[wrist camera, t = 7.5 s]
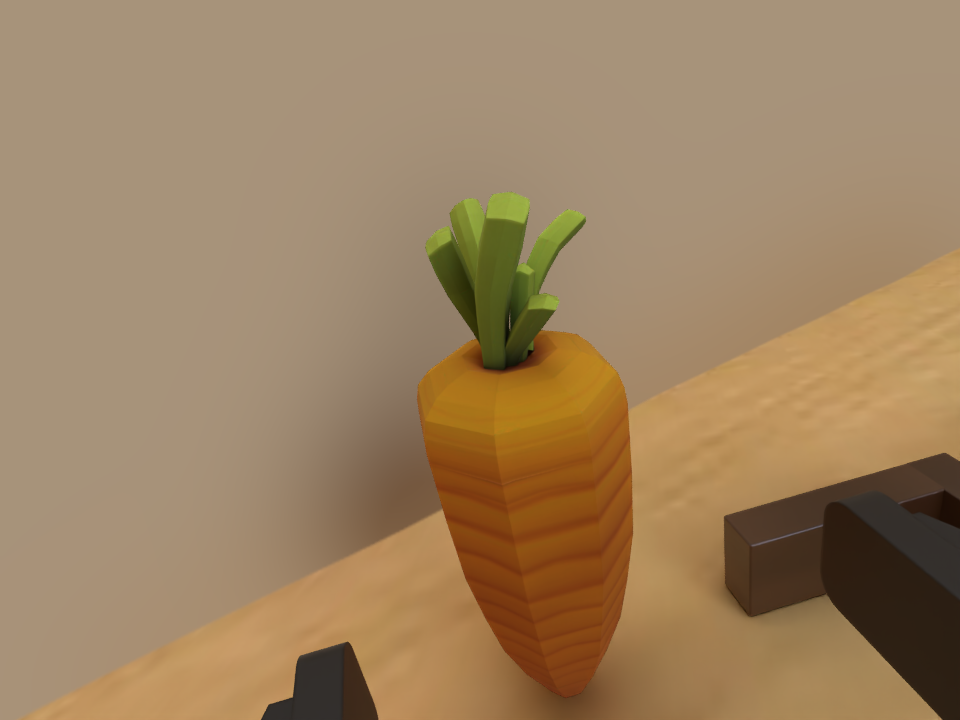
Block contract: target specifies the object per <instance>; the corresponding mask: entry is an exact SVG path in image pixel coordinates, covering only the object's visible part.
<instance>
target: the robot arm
mask: <svg viewBox="0 0 960 720" xmlns="http://www.w3.org/2000/svg"><path fill="white" fill-rule="evenodd" d="M820 575H821V580H822V583H823V586H824V588H825V591H826V593H827V595H828V596H829V598H830V600H831V601H832V603H833V604H834V605H835V607H836V608H837V609H838V610H839V611H840V612H841V613H842V614H843V615H844V617H845V618H846V619H847V620H848V621H849V622H850V623H851V624H852V625H853V626H854V627H855V628H856V629H857V630H858V631H859V632H860V633H861V634H862V635H863V636H864V638H865V639H866V640H867V641H868V642H869V643H870V644H871V645H872V646H873V647H874V648H875V649H876V650H877V651H878V652H879V653H880V654H881V655H882V656H883V658H884V659H885V660H886V661H887V662H888V663H889V664H890V665H891V666H892V667H893V668H894V669H895V670H896V671H897V672H898V673H899V674H900V675H901V676H902V678H903V679H904V680H905V681H906V682H907V683H908V684H909V685H910V686H911V687H912V688H913V689H914V690H915V691H916V692H917V693H918V694H919V695H920V696H921V697H922V699H923V700H924V701H925V702H926V703H927V704H928V705H929V706H930V707H931V708H932V709H933V710H934V711H935V712H936V713H937V714H938V715H939V716H940V717H941V719H942V720H960V529H959V528H956V527H954V526H952V525H949V524H947V523H945V522H942V521H940V520H937V519H935V518H933V517H930V516H928V515H926V514H923V513H921V512H918V513H915V514H912V513H910V512H909V511H908V510H906V509H905V508H903V507H902V506H901V505H899V504H898V503H897V502H895V501H894V500H893V499H891V498H890V497H889V496H887V495H886V494H884V493H882V492H879V491H875V490H871V491H868V492H864V493H861V494H857V495H854V496H850V497H847V498H844V499H840V500H837V501H833V502H830V503H829V504H827V506H826V507H825V510H824V520H823V534H822V547H821V561H820ZM261 720H378V715H377V711H376V708H375V704H374V702H373V699H372V696H371V694H370V691H369V689H368V686H367V684H366V681H365V679H364V676H363V674H362V671H361V668H360V666H359V663H358V661H357V658H356V656H355V653H354V651H353V648H352V646H351V645H350V643H349V642H345V643H342V644H338V645H335V646H332V647H328V648H325V649H321V650H318V651H314V652H311V653H308V654H304V655H301V656H300V657H299V658H298V661H297V665H296V673H295V683H294V692H293V698H289V699H286V700H283V701H279V702H276V703H273V704H269V705H268V707H267V709H266V711H265V713H264V715H263V717H262V719H261Z"/></svg>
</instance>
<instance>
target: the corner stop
mask: <svg viewBox="0 0 960 720" xmlns="http://www.w3.org/2000/svg"><path fill="white" fill-rule="evenodd" d="M871 490H875V491H879V492H882V493H884V494H886V495H887V496H889V497H890V498H891V499H893V500H894V501H895V502H897V503H898V504H899V505H901V506H902V507H903V508H905V509H906V510H908V511H909V512H910V513H912V514H915V513H918V512H921V513H923V514H926V515H928V516H930V517H933V518H935V519H937V520H940V521H942V522H945V523H947V524H949V525H952V526H954V527H956V528H959V529H960V461H958V460H957V459H955V458H953V457H952V456H950V455H948V454H947V453H942V454H938V455H935V456H931V457H928V458H924V459H921V460H917V461H914V462H910V463H907V464H904V465H900V466H897V467H893V468H890V469H886V470H883V471H879V472H876V473H873V474H869V475H866V476H862V477H859V478H855V479H852V480H848V481H845V482H841V483H838V484H834V485H831V486H827V487H824V488H820V489H817V490H813V491H810V492H806V493H803V494H799V495H796V496H792V497H789V498H785V499H782V500H778V501H775V502H771V503H768V504H764V505H761V506H757V507H754V508H750V509H747V510H743V511H740V512H736V513H733V514H729V515H726V516H724V550H725V584H726V586H727V587H728V588H729V590H730V591H731V592H732V594H733V595H734V596H735V597H736V599H737V600H738V601H739V603H740V604H741V605H742V607H743V608H744V609H745V610H746V612H747V613H748V614H749V616H754V615H757V614H760V613H764V612H767V611H770V610H773V609H777V608H780V607H783V606H787V605H790V604H793V603H796V602H800V601H803V600H806V599H809V598H813V597H816V596H819V595H823V594H826V591H825V588H824V586H823V583H822V580H821V575H820V561H821V547H822V534H823V520H824V510H825V507H826V506H827V504H829V503H830V502H833V501H837V500H840V499H844V498H847V497H850V496H854V495H857V494H861V493H864V492H868V491H871Z"/></svg>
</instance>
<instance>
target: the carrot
mask: <svg viewBox="0 0 960 720" xmlns="http://www.w3.org/2000/svg"><path fill="white" fill-rule="evenodd" d="M529 208H530V205H529V199H527V198H525V197H522V196H520V195H518V194H516V193H513V192H507V193H499V194H493V195H492V197H491V198H490V200H489V202H488V206H487V210H486V215H484V213H483V210H482V208H481V205H480V204H479V201H478V200H477V199H472V198H470V199H466V200H463V201H461V202H460V203H458V204H457V205H455V206H454V208H453V209H452V211H451V212H450V218H451V222H452V227H453V230H454V233H455V236H456V239H457V242H458V244H457V242H456V240H455V238H454V236H453V234H452V232H451V230H450V228H449V226H447V227H445V228H442V229H440V230H438V231H436V232H435V233H434V234H433V235H432V237H430V239H429V240H428V241H427V242H426V247H425V248H426V251H427V254H428V257H429V259H430V262H431V264H432V266H433V269H434V271H435V273H436V275H437V277H438V279H439V281H440V282H441V284H442V286H443V288H444V290H445V292H446V293H447V295H448V297H449V298H450V300H451V301H452V303H453V304H454V305H455V307H456V309H457V310H458V311H459V313H460V314H461V316H462V317H463V319H464V320H465V321H466V323H467V324H468V326H469V327H470V329H471V330H472V332H473V333H474V335H475V337H476V338H477V339H474V340H471V341H469V342H468V343H466V344H464V345H463V346H462V347H460V348H459V349H458V350H456V351H455V352H453V353H452V354H451V355H449V356H448V357H447V358H445V359H444V360H443V361H441V362H440V363H439V364H437V365H436V366H434V367H433V368H432V369H430V370H429V371H428V372H427V374H426V375H425V376H424V378H423V379H422V381H421V382H420V383H419V384H418V394H417V402H418V409H419V414H420V420H421V426H422V430H423V437H424V442H425V447H426V452H427V457H428V460H429V464H430V467H431V470H432V474H433V477H434V481H435V484H436V487H437V491H438V494H439V498H440V501H441V504H442V508H443V511H444V515H445V518H446V521H447V524H448V527H449V530H450V533H451V536H452V539H453V542H454V545H455V548H456V551H457V554H458V557H459V560H460V563H461V566H462V569H463V572H464V575H465V578H466V580H467V582H468V584H469V586H470V588H471V590H472V592H473V594H474V596H475V598H476V600H477V602H478V604H479V606H480V608H481V610H482V612H483V614H484V616H485V618H486V620H487V622H488V623H489V625H490V627H491V629H492V630H493V632H494V634H495V635H496V637H497V639H498V641H499V642H500V644H501V646H502V648H503V649H504V651H505V652H506V653H507V654H508V655H509V656H510V657H511V658H512V659H513V660H514V661H515V662H516V664H517V665H518V666H519V667H520V668H521V669H522V670H523V671H524V672H525V673H526V674H527V675H529V676H530V677H532V678H533V679H534V680H536V681H537V682H539V683H540V684H542V685H543V686H545V687H546V688H547V689H549V690H550V691H552V692H554V693H556V694H558V695H560V696H562V697H565V698H567V697H570V696H573V695H577V694H580V693H581V692H582V691H583V689H584V688H585V687H586V685H587V684H588V683H589V681H590V680H591V679H592V677H593V675H594V673H595V671H596V669H597V667H598V665H599V664H600V662H601V660H602V658H603V656H604V654H605V652H606V650H607V648H608V645H609V643H610V641H611V638H612V636H613V633H614V631H615V629H616V626H617V624H618V621H619V619H620V616H621V610H622V605H623V599H624V594H625V588H626V583H627V577H628V569H629V561H630V553H631V545H632V537H633V509H632V468H631V452H630V435H629V418H628V403H627V398H626V393H625V389H624V386H623V384H622V381H621V379H620V377H619V375H618V373H617V371H616V370H615V369H614V368H613V367H612V366H611V365H610V364H609V363H608V362H607V361H606V360H605V359H604V358H603V356H601V354H600V353H599V352H598V351H597V350H596V349H595V348H594V347H593V346H592V345H591V344H590V343H589V342H588V341H586V340H585V339H583V338H582V337H580V336H579V335H577V334H572V333H566V332H556V331H545V330H541V329H542V328H543V326H544V325H545V324H546V322H547V321H548V320H549V318H550V317H551V316H552V314H553V313H554V312H555V310H556V308H557V305H558V303H559V299H558V297H556V296H553V295H550V294H547V293H544V294H539V290H540V288H541V286H542V284H543V282H544V279H545V277H546V275H547V273H548V271H549V269H550V267H551V265H552V263H553V262H554V260H555V258H556V256H557V255H558V253H559V251H560V250H561V249H562V248H563V247H564V246H565V245H566V243H568V242H569V241H570V240H571V238H572V237H573V236H574V235H575V234H576V233H577V232H578V231H579V230H580V229H581V228H582V227H583V225H584V224H585V222H586V217H585V216H583V215H582V214H581V213H579V212H577V211H573V210H568V209H567V210H566V211H565V212H563V213H562V214H561V215H560V216H558V217H557V218H556V219H555V220H554V221H553V222H552V223H551V224H550V225H549V226H548V227H547V228H546V229H545V230H544V232H543V233H542V234H541V235H540V236H539V237H538V239H537V241H536V243H535V246H534V248H533V250H532V252H531V254H530V256H529V259H528V261H527V264H525V263H522V264H520V265H518V262H519V258H520V254H521V251H522V247H523V241H524V236H525V230H526V225H527V219H528V214H529ZM458 245H459V246H458ZM509 315H510V329H509Z"/></svg>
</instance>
